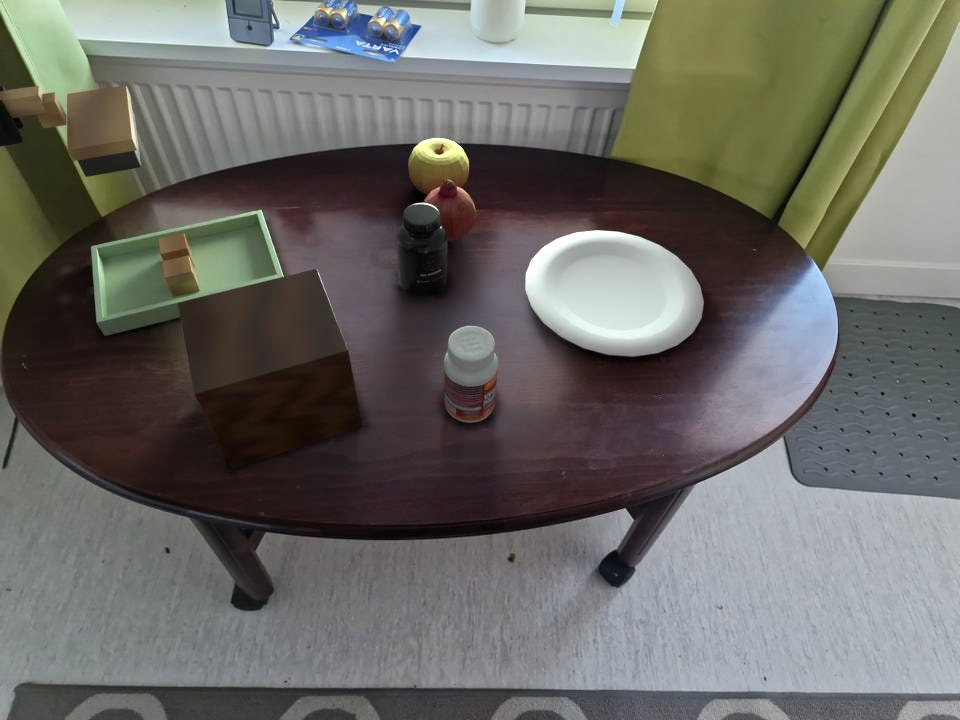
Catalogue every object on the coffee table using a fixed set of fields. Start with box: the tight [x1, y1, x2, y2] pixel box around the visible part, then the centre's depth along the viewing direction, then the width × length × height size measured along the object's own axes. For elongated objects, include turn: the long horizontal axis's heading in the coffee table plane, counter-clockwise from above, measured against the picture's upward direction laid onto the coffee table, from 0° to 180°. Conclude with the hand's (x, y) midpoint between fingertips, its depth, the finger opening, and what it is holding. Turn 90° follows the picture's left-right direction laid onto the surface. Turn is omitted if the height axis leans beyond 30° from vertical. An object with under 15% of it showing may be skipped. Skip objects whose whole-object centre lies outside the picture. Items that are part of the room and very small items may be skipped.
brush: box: [0, 85, 142, 178], centre depth 61 cm, size 16×11×6 cm
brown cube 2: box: [158, 233, 195, 267], centre depth 91 cm, size 4×4×4 cm
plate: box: [524, 229, 705, 358], centre depth 91 cm, size 25×25×2 cm
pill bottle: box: [443, 325, 499, 424], centre depth 75 cm, size 6×6×11 cm
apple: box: [407, 137, 470, 196], centre depth 103 cm, size 10×10×8 cm
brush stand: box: [178, 268, 364, 469], centre depth 72 cm, size 15×13×14 cm
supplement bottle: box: [395, 202, 449, 298], centre depth 87 cm, size 7×7×12 cm
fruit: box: [422, 180, 477, 242], centre depth 95 cm, size 8×8×10 cm
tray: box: [90, 209, 284, 337], centre depth 90 cm, size 24×16×3 cm, turn 113°
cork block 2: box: [162, 256, 200, 297], centre depth 88 cm, size 4×4×4 cm
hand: (4, 135), depth 61 cm, fingers closed on brush
